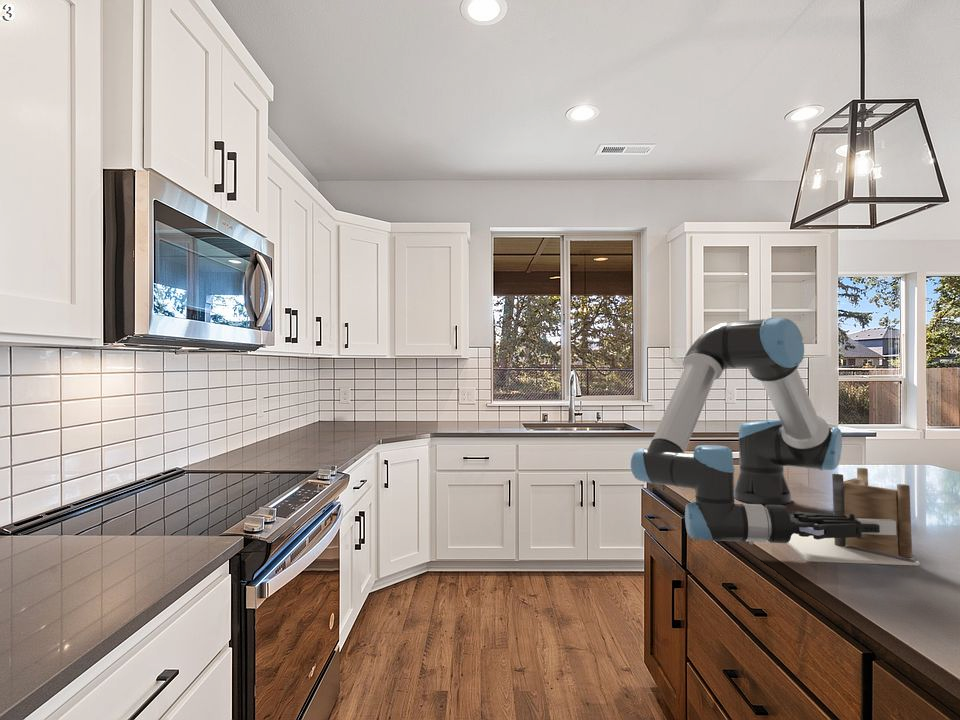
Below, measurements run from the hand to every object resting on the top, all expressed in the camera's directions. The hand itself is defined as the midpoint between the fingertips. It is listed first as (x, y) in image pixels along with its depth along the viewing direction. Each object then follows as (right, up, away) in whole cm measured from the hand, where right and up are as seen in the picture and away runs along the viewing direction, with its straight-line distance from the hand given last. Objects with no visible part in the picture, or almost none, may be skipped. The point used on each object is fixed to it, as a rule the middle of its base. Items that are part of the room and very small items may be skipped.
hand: (894, 527), depth 112 cm
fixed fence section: (0, -7, +13) cm, 14 cm away
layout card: (-4, -7, +10) cm, 13 cm away
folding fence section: (-1, -6, +3) cm, 7 cm away
